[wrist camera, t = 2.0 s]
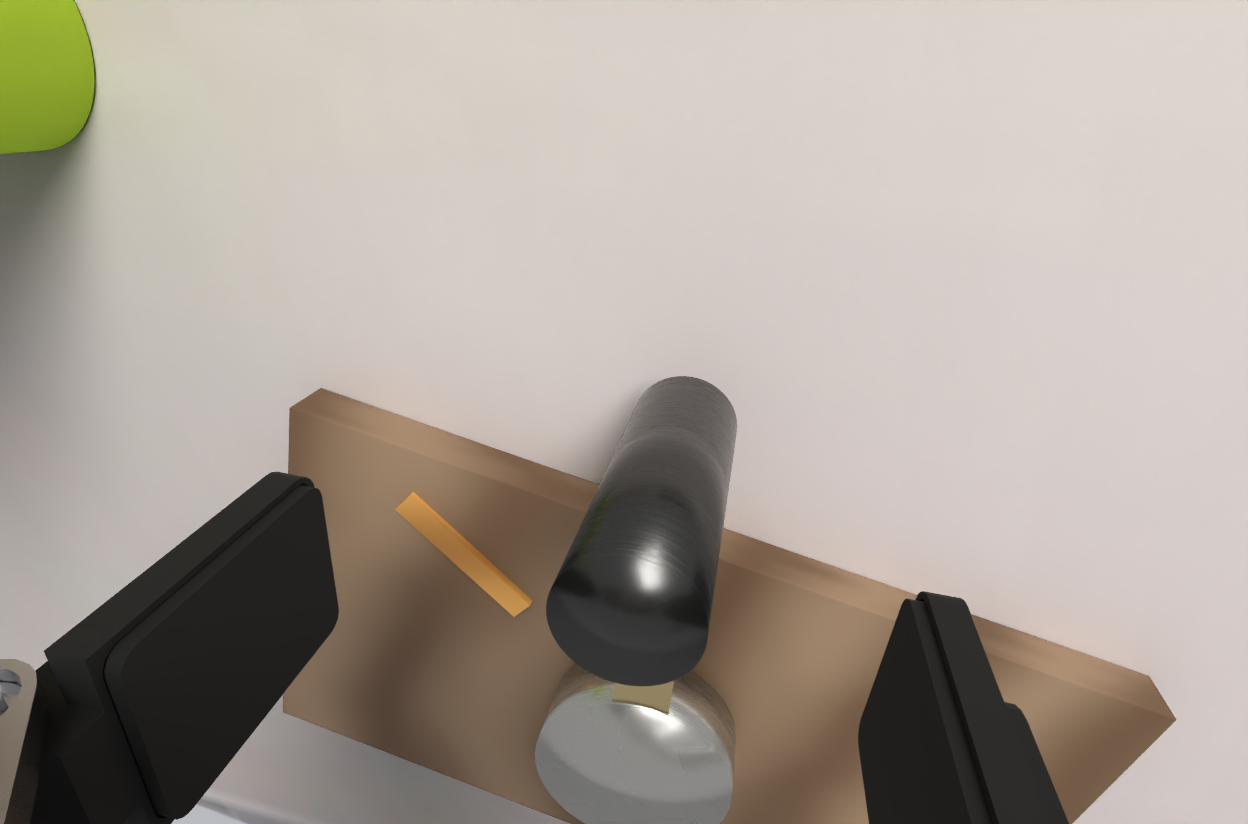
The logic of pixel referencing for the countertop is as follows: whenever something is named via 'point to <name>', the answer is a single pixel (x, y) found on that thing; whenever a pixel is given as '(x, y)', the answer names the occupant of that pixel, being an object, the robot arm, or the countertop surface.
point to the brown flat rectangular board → (535, 664)
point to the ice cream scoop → (645, 624)
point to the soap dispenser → (43, 74)
